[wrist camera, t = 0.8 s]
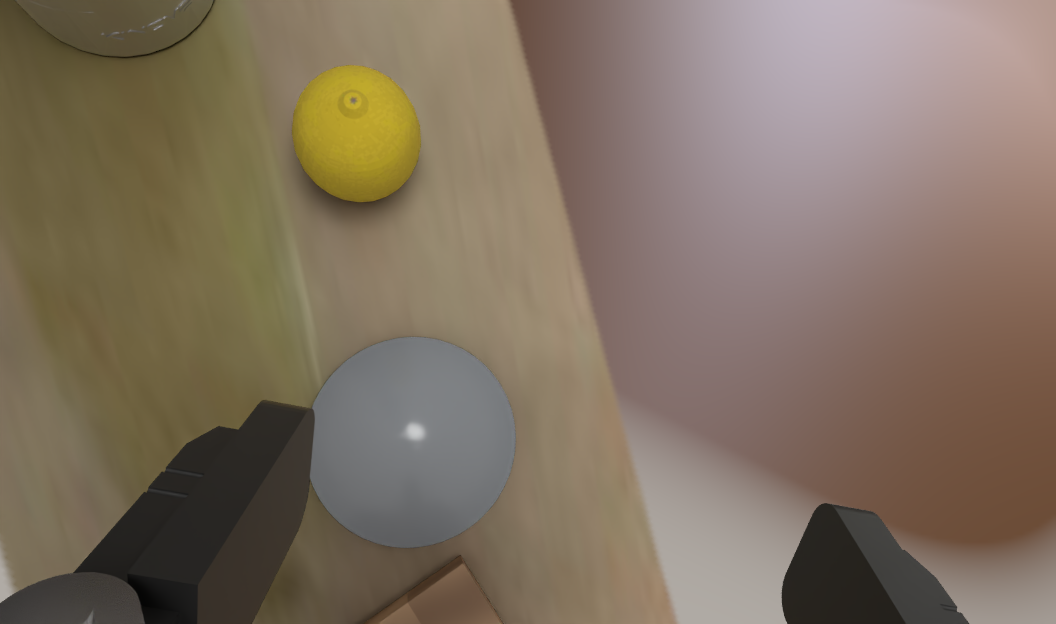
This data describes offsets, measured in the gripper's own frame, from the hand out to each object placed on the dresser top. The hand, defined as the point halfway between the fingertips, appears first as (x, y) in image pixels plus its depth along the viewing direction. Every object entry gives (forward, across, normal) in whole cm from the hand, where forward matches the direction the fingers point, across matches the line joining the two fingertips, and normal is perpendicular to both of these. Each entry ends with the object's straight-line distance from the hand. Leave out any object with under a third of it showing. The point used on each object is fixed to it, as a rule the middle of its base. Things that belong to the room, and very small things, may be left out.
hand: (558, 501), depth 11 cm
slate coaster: (+19, +4, +13) cm, 23 cm away
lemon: (+25, +9, +1) cm, 27 cm away
